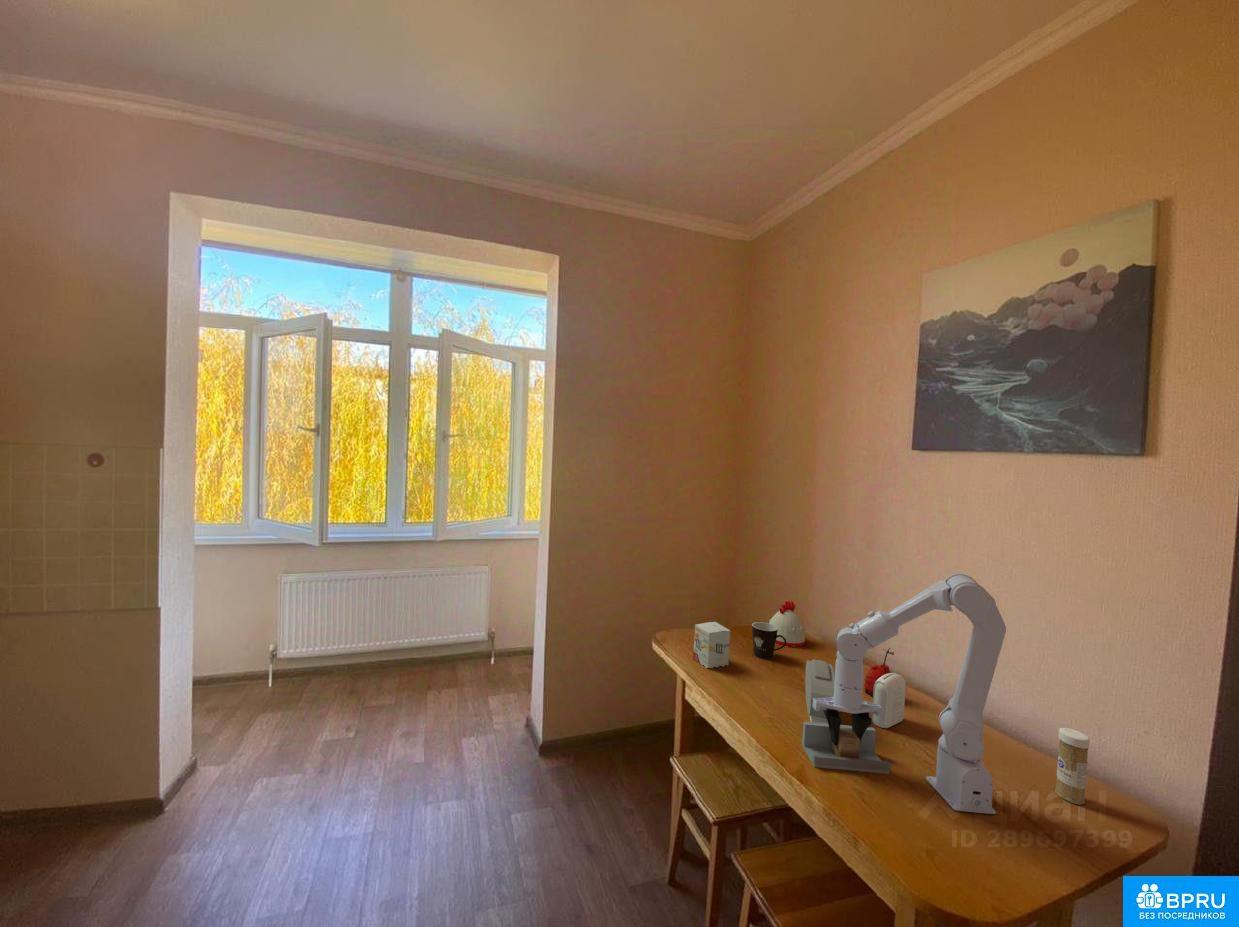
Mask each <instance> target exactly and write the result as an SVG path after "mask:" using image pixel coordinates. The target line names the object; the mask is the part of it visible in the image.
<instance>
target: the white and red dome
mask: <svg viewBox="0 0 1239 927" xmlns="http://www.w3.org/2000/svg"><path fill="white" fill-rule="evenodd" d="M795 608H796V603H794V600H787V601H785V600H784V604H781V608H780V607H779V610H778V611H777V612H776V613H775V614H774V615H773V616H772V618H769V620H768V623H769V624H772V625H775V626H776V627H777V628H778V631H777V635H782V636H783V637H784V638H785V639H786V645H785V646H788V647H787V648H791V647H797V648H801V647H800V646H802V645H804V644H806V638H805V627H804V626H803V624H802V622H801V620H800V618H799V616H798V615H797V614H796V613H795V612H794V611H795ZM775 643H776V644H775V645H777V644H779V645H778V646H780V645H784V643H785V642H784V639H783V638H782V637H777V639H776V642H775ZM804 646H805V645H804ZM802 647H803V646H802Z"/></svg>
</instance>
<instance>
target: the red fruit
mask: <svg viewBox="0 0 1239 927" xmlns="http://www.w3.org/2000/svg"><path fill="white" fill-rule="evenodd" d="M882 650H884V651H885V656H884V657H883V663H882V664H873V665H872V664H871V666H870V669H869V670H868V671H867V673H866V675H865V676H864V682H865V683H864V684H863V685H864V686H863V687H864V693H866V694H869V695H870V696H871V697H873V694H874V684H875V682H876V681H877V680H878V679H879V678H880V677H881V676H883V675H885V674H889V673H892V672H891V670H890V667H889V666H888V665H887V664H886V661H887V656H888V654H889V655H891V656H892V655H893V656H894V653H895V652H894V651H890V650H891V647H889V648H888V649H886V648H883V649H882Z"/></svg>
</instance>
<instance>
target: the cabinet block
mask: <svg viewBox="0 0 1239 927" xmlns="http://www.w3.org/2000/svg"><path fill="white" fill-rule="evenodd" d="M859 743H860V739H859V738H858V737H857V735H856V734H855V733H854V732H853V730H852V729H851V728H845V727H840V730H839V740H838V746H836V745H834V744H833V742H832V750H833V751H834V753H835V754H836V756H837V757H845V758H856V759H859Z"/></svg>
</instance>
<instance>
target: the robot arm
mask: <svg viewBox="0 0 1239 927" xmlns="http://www.w3.org/2000/svg"><path fill="white" fill-rule="evenodd" d="M952 606H954V607H955V609H956V610H958V611H959V612H961V613H962V614H963V615H965V616H966V617H967V618H968V619H969V621H970V622H971V624H972V625H973V627H972V630H971V634H970V637H969V641H968V644H967V649H966V652H965V654H964V655H965V656H964V659H963V662H962V666H961V669H960V673H959V675H958V676H959V677H958V680H957V685H956V688H955V692H954V695H953V696H952V697H951V698H950V699H949V700H948V705H947V706H946V708H944V709H943V710H942V711H941V712H940V713H939V716H938V723H939V726H940V729H941V730H942V732H943V733H942V735H941V736H940V737H939V739H938V740H937V742H938V743H937V754H936V755H937V756H936V770H935V771H936V772H935V776H926V777H925V780H926V781H927V782H928V783H929V784H930V785H931V786H932V787H933V789H935V791H936V792H937V793H938V794H939V795H940V796H941V797H942V798H943V799H944V800H945V802H946V803H947V804H948V805H949V806H950V807H951V808H952V809H953V810H954V811H957V812H958V811H959V812H965V813H966V812H967V813H979V814H988V815H997V811H996V810H995V809H994V808H993V793H994V792H993V790H994V789H993V788H994V780H993V778H992V777H993V776H991V774H990V773H989V771H988V770H987V769H986V768H985V766H984V763H983V760H982V756H983V754H984V751H985V743H984V740H983V732H984V715H983V714H984V713H983V712H984V711H985V706H986V702H987V699H988V696H989V691H990V688H991V684H992V682H993V678H994V675H995V670H996V667H997V664H998V661H999V657H1000V653H1001V650H1002V647H1003V643H1004V639H1005V636H1006V632H1007V626H1006V623H1005V622H1004V621H1005V620H1004V619H1003V617H1002V614H1001V612H1000V610H999V608H998V606H997V603H996V600H995V598H994V597H993V596H992V595H991V593H989V592H988V591H987V590H986V588H984V586H982V585H980V584H979V583H978V582H977V580H975V579H974V578H973V577H971V576H969V575H968V574H964V573H955V574H954V573H953V574H952V575H950V576H948V577H947V578H946V579H942V580H938V581H936V582H935V583H933V584H932V585H929V587H927V588H925V589H924V590H922V591H920V592H919V593H917V594H916V595H914V596H912V597H911V598H910V599H907V600H906V601H905V602H903V603H901V604H899V605H898V606H897V607H895V608H893V609H892V610H891V611H884V610H877V611H876V612H875V611H874V610H871V611H869V612H868V613H867V617H865V618H864V619H862V620H859V621H858V622H856V623H854V622H852V623H850V624H849V625H848V626H849V627H848V626H847V627H843V628H842V629H841V630H839V632H838V634H837V636H836V649H837V651H836V660H835V667H834V674H835V682H834V697H828V698H813V708H814V709H815V711H820V710H823V711H824V713H825V716H826V718H827V721H828V725H829V729H830V734H831V741H832V742H833V744H834V745H836V746H838V740H839V730H840V725H842V722H843V720H842V718H841V717H840V714H839V712H840V713H841V712H843V713H849V714H850V715H851V726H852V730H853V732H854V733H855V734H856V735H857V737H858V738H859V739H860V741H861V738H862V736H863V734H864V732H865V731H866V729H867V728H868V727H869V726H871V725H872V723H873V722H872V717H871V716H870V715H872V714H875V715H877V716H882V707H881V706H880V705H879V704H877V703H873V702H869V701H864V700H863V692H864V691H863V688H864V686H863V685H864V671H865V670H864V669H865V665H864V664H863V663H864V658H865V656H866V654H867V650H870V649H875V647H877V646H879V645H881V644H883V643H885V642H886V641H889V640H890V639H892V638H894V637H896V636H897V635H898V634H899V628H900V626H903V625H905V624H907V623H909V622H911V621H913V620H914V619H916V618H918V617H921V616H923V615H925V614H927V613H930V612H932V611H933V610H940V611H945V612H953V608H952ZM859 744H860V743H859Z"/></svg>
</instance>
